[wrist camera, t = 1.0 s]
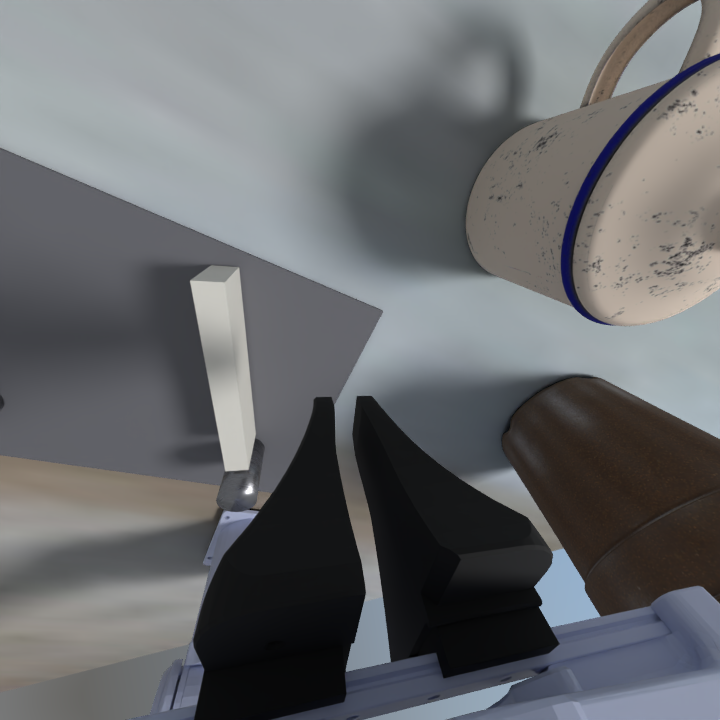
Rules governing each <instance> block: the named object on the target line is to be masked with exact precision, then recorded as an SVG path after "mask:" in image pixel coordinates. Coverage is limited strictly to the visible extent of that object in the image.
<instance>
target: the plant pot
mask: <svg viewBox="0 0 720 720" xmlns="http://www.w3.org/2000/svg"><path fill="white" fill-rule="evenodd" d="M502 447H503V450H504V453H505V455H506V457H507V458H508V460H509V461H510V463H511V464H512V466H513V468H514V469H515V471H516V472H517V474H518V475H519V477H520V479H521V480H522V482H523V483H524V485H525V487H526V488H527V490H528V491H529V493H530V494H531V496H532V498H533V499H534V501H535V502H536V504H537V506H538V507H539V509H540V510H541V512H542V514H543V515H544V517H545V518H546V520H547V522H548V523H549V525H550V526H551V528H552V530H553V531H554V533H555V534H556V536H557V538H558V539H559V541H560V543H561V544H562V546H563V547H564V549H565V551H566V552H567V554H568V556H569V557H570V559H571V561H572V562H573V564H574V566H575V567H576V569H577V570H578V572H579V574H580V575H581V577H582V579H583V580H584V582H585V591H586V593H587V595H588V597H589V598H590V600H591V601H592V603H593V605H594V606H595V608H596V610H597V611H598V613H599V614H600V616H601V617H602V616H607V615H612V614H616V613H621V612H625V611H630V610H635V609H639V608H644V607H648V606H651V603H652V602H654V601H655V600H656V599H657V598H659V597H660V596H662V595H664V594H666V593H668V592H671V591H674V590H679V589H684V588H689V587H694V586H701V587H703V588H704V589H705V590H706V591H707V592H708V593H709V594H710V595H711V596H712V597H713V598H714V599H715V600H716V601H718V602H719V603H720V439H718V438H716V437H714V436H712V435H710V434H709V433H707V432H705V431H703V430H701V429H699V428H697V427H695V426H693V425H691V424H689V423H687V422H685V421H683V420H681V419H679V418H677V417H675V416H673V415H671V414H669V413H667V412H665V411H663V410H661V409H660V408H658V407H656V406H654V405H652V404H650V403H648V402H646V401H644V400H642V399H640V398H638V397H636V396H634V395H632V394H630V393H629V392H627V391H625V390H623V389H621V388H619V387H617V386H615V385H613V384H611V383H609V382H607V381H605V380H603V379H601V378H598V377H593V378H592V379H590V378H580V377H574V378H570V379H566V380H563V381H560V382H558V383H556V384H554V385H552V386H550V387H547V388H546V389H544V390H542V391H540V392H539V393H537V394H536V395H534V396H533V397H532V398H530V399H529V400H528V401H527V402H526V403H524V404H523V405H522V406H521V407H520V408H519V409H518V410H517V411H516V412H515V414H514V415H513V416H512V418H511V423H510V429H509V430H508V432H506V433H504V434H503V438H502Z"/></svg>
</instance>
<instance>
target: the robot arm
mask: <svg viewBox="0 0 720 720" xmlns="http://www.w3.org/2000/svg"><path fill="white" fill-rule="evenodd" d="M352 434H353V442H354V450H355V456H356V460H357V464H358V468H359V472H360V476H361V480H362V484H363V487H364V491H365V495H366V499H367V503H368V506H369V511H370V515H371V520H372V526H373V533H374V539H375V545H376V551H377V558H378V565H379V571H380V579H381V586H382V593H383V601H384V608H385V616H386V623H387V632H388V640H389V649H390V658H391V662H390V663H385V664H381V665H376V666H372V667H367V668H363V669H358V670H353V671H349V672H346V665H347V660H348V656H349V651H350V647H351V643H354V641H355V637H356V632H357V628H358V624H359V620H360V616H361V612H362V607H363V603H364V599H365V595H366V590H365V582H364V576H363V570H362V563H361V559H360V556H359V552H358V549H357V545H356V541H355V537H354V533H353V530H352V526H351V522H350V518H349V514H348V509H347V505H346V500H345V496H344V492H343V487H342V482H341V477H340V472H339V466H338V460H337V455H336V446H335V410H334V404H333V400H332V397H316V398H315V399H313V410H312V414H311V418H310V421H309V424H308V426H307V429H306V432H305V435H304V437H303V439H302V441H301V444H300V446H299V448H298V450H297V452H296V454H295V456H294V458H293V460H292V462H291V464H290V465H289V467H288V469H287V471H286V472H285V474H284V476H283V477H282V479H281V480H280V482H279V484H278V485H277V487H276V488H275V490H274V491H273V493H272V494H271V496H270V497H269V499H268V500H267V501H266V503H265V504H264V505H263V507H262V508H261V509H260V511H254V510H246V511H242V512H230V511H226V510H223V513H222V515H221V518H220V520H219V523H218V525H217V528H216V530H215V533H214V535H213V538H212V540H211V543H210V545H209V548H208V550H207V553H206V555H205V558H204V560H203V564H204V565H207V566H210V570H209V574H208V578H207V582H206V586H205V590H204V594H203V598H202V602H201V606H200V609H199V613H198V617H197V621H196V625H195V629H194V633H193V637H192V641H191V642H190V644H189V648H188V651H187V655H186V659H185V663H184V666H181V665H182V661H183V659H177V660H175V661H174V662H173V663H172V666H170V667H169V668H168V669H167V670H166V671H165V672H164V673H163V675H162V678H161V680H160V683H159V687H158V689H157V693H156V696H155V699H154V702H153V706H152V709H151V712H150V715H145V716H141V717H136V718H132V719H127V720H364V719H367V718H372V717H376V716H379V715H383V714H387V713H391V712H395V711H399V710H403V709H407V708H410V707H414V706H419V705H422V704H427V703H431V702H435V701H439V700H443V699H447V698H450V697H454V696H458V695H462V694H466V693H470V692H474V691H478V690H482V689H486V688H490V687H493V686H498V685H501V684H506V683H509V682H513V681H517V680H521V679H525V678H529V677H532V678H529V679H527V680H524V681H522V682H519V683H517V684H515V685H512V686H511V688H510V690H509V692H508V693H507V694H506V695H505V696H504V697H503V698H502V699H501V700H500V701H498V702H496V703H495V704H493V705H492V706H491V707H489V708H487V709H486V710H482V711H477V712H473V713H469V714H465V715H462V716H458V717H454V718H451V719H447V720H720V603H719V602H718V601H716V600H715V599H714V598H713V597H712V596H711V595H710V594H709V593H708V592H707V591H706V590H705V589H704V588H703V587H701V586H694V587H689V588H684V589H679V590H674V591H671V592H668V593H666V594H664V595H662V596H660V597H659V598H657V599H656V600H655V601H654V602H652V603H651V606H648V607H644V608H639V609H635V610H630V611H625V612H621V613H616V614H612V615H607V616H602V617H598V618H593V619H589V620H584V621H580V622H575V623H571V624H566V625H561V626H556V627H552V628H550V626H549V624H548V623H547V621H546V619H545V617H544V616H543V614H542V612H541V610H540V609H539V606H541V605H542V600H541V598H540V596H539V595H538V593H537V591H536V590H535V588H534V586H535V585H536V584H537V582H538V581H539V580H540V579H541V578H542V576H543V575H544V574H545V573H546V572H547V570H548V569H549V567H550V566H551V564H552V558H553V554H552V552H551V550H550V548H549V547H548V545H547V544H546V542H545V541H544V539H543V538H542V537H541V535H540V534H539V532H538V531H537V530H536V528H535V527H534V525H533V524H532V523H531V521H530V520H529V519H528V518H527V517H526V516H524V515H522V514H520V513H518V512H516V511H514V510H512V509H510V508H508V507H506V506H505V505H503V504H501V503H499V502H497V501H495V500H493V499H491V498H490V497H488V496H486V495H485V494H483V493H481V492H480V491H478V490H476V489H475V488H473V487H472V486H470V485H468V484H467V483H465V482H464V481H462V480H461V479H459V478H458V477H456V476H455V475H454V474H452V473H451V472H449V471H448V470H446V469H445V468H444V467H442V466H441V465H440V464H438V463H437V462H436V461H435V460H433V459H432V458H431V457H430V456H429V455H427V454H426V453H425V452H424V451H423V450H421V449H420V448H419V447H418V446H417V445H416V444H415V443H414V442H413V441H412V440H411V439H410V438H409V437H408V436H407V435H406V434H405V433H404V432H403V431H402V430H401V429H400V428H399V427H398V426H397V425H396V424H395V423H394V422H393V421H392V419H391V418H390V417H389V416H388V415H387V414H386V413H385V411H384V410H383V409H382V408H381V407H380V405H379V404H378V403H377V402H376V401H375V399H374V398H373V397H372V396H357V400H356V408H355V416H354V425H353V433H352ZM533 676H534V677H533Z"/></svg>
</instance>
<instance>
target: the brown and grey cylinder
mask: <svg viewBox="0 0 720 720" xmlns="http://www.w3.org/2000/svg"><path fill="white" fill-rule="evenodd" d="M4 404H5V403H4V399H3V397H2V396H1V395H0V410H1V409H2V408H3V407H4Z"/></svg>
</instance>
